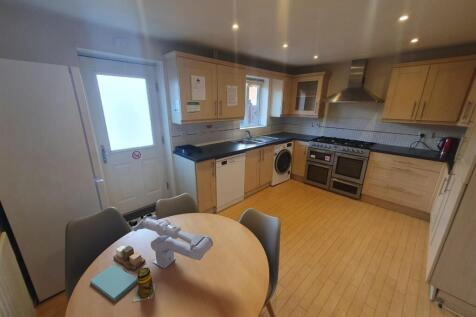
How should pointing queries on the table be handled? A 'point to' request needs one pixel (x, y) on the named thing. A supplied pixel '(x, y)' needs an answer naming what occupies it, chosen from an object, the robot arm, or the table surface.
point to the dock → (113, 282)
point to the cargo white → (120, 251)
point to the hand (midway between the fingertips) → (135, 219)
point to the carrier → (126, 260)
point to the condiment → (144, 285)
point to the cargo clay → (135, 258)
